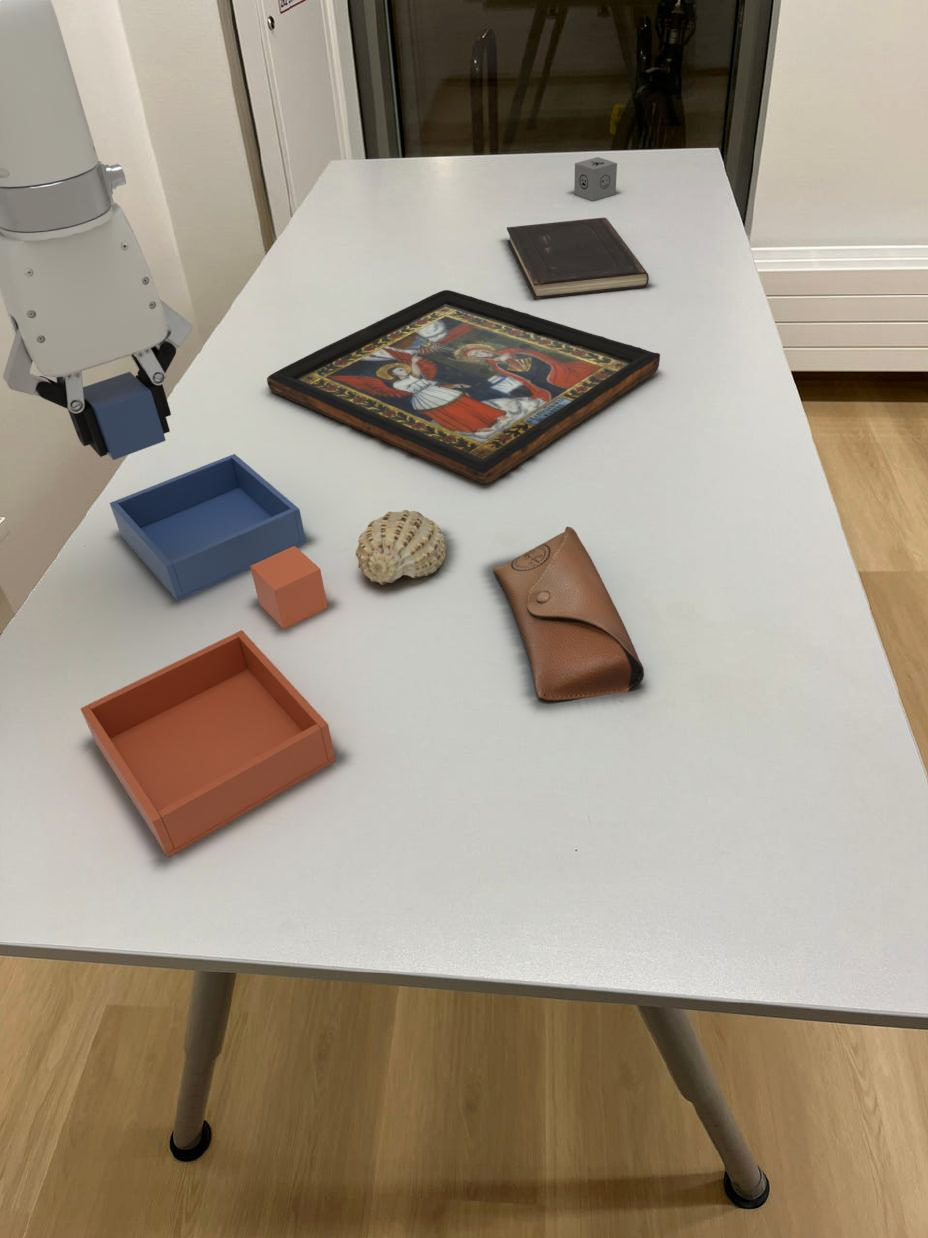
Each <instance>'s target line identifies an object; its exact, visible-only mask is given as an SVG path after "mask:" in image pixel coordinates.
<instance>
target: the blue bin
mask: <svg viewBox="0 0 928 1238" xmlns="http://www.w3.org/2000/svg"><path fill="white" fill-rule="evenodd" d="M109 506H110V508H111V511H112V514H113V517H114V520H115V522H116V524H117V528H118V531H119V533H120V536H121V538H122V539H123V540H124V541H125V542H126V544H127V545H128V546H129V547H130V548H131V549H132V550H133V551H134V553H135V554H136V555H137V557H138V558H140V560H141V561H142V562H143V563H144V564H145V566H146V567H147V568H148V569H149V570H150V572H152V574H153V575H154V576H155V577H156V578H157V580H158V581H159V582H160V583H161V584H162V585H163V586H164V587H165V588H166V590H167V591H168V592H169V593H170V595H171V596H172V597H173V598H174V599H175V601H177V602H180V601H182V600H184V599H187V598H189V597H191V596H193V595H196V594H198V593H201V592H202V591H204V590H206V589H208V588H211V587H213V586H215V585H217V584H219V583H222V582H224V581H226V580H228V579H231V578H233V577H235V576H237V575H239V574H241V573H244V572H246V571H248V570H251V568H250V566H251V565H253V564H255V563H258V562H260V561H262V560H264V559H266V558H269V557H271V556H273V555H275V554H277V553H280V552H282V551H284V550H286V549H288V548H291V547H293V546H296V547H297V548H298V547H301V546H303V545H305V544H307V540H306V534H305V530H304V525H303V519H302V515H301V511H300V510H301V509H300V508H299V507H298V506H297V505H295V504H294V503H293V502H292V501H291V500H289V499H288V498H287V497H286V496H285V495H284V494H282V493H281V492H280V490H278V489H277V488H276V487H274V486H273V485H272V484H271V483H269V481H267V480H266V479H265V478H264V477H262V475H260V474H259V473H258V472H256V471H255V469H253V468H252V467H251V466H250V465H249V464H247V463H246V462H245V461H244V460H243V459H241V457H239V456H238V455H237V454H235V453H233V454H230V455H228V456H224V457H223V458H220V459H218V460H215V461H213V462H210V463H208V464H205V465H203V466H200V467H197V468H195V469H192V470H189V471H187V472H184V473H182V474H179V475H177V476H174V477H172V478H169V479H167V480H164V481H162V482H159V483H157V484H155V485H152V486H149V487H146V488H144V489H142V490H139V491H136V492H134V493H131V494H129V495H126V496H123V497H121V498H118V499H116V500H114V501H111V502H109Z"/></svg>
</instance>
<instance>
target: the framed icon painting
mask: <svg viewBox="0 0 928 1238" xmlns="http://www.w3.org/2000/svg"><path fill="white" fill-rule="evenodd" d="M660 360H661V353H658V352H653V351H650V350H648V349H644V348H641V347H638V346H633V345H632V344H627V343H624V342H621V341H618V340H617V341H616V340H613V339H610V338H607V337H604V336H601V335H597V334H594V333H590V332H587V331H584V330H580V329H577V328H574V327H572V326H568V325H565V324H561V323H558V322H555V321H552V320H549V319H545V318H543V317H542V318H541V317H538V316H535V315H533V314H530V313H527V312H523V311H520V310H516V309H514V308H510V307H507V306H503V305H500V304H496V303H494V302H490V301H486V300H483V299H480V298H477V297H473V296H470V295H467V294H463V293H461V292H457V291H454V290H449V289H444V290H441V291H438V292H436V293H433V294H431V295H429V296H427V297H425V298H423V299H421V300H419V301H417V302H415V303H413V304H411V305H409V306H407V307H404V308H402V309H401V310H398V311H397V312H394V313H393V314H390V315H388V316H386V317H384V318H382V319H380V320H378V321H375V322H374V323H372V324H370V325H368V326H366V327H364V328H362V329H359V330H357V331H355V332H353V333H351V334H349V335H347V336H344V337H342V338H340V339H339V340H337V341H334V342H332V343H330V344H328V345H326V346H324V347H322V348H319V349H318V350H315V351H313V352H312V353H310V354H308V355H305V356H303V357H302V358H299V359H298V360H296V361H294V362H292V363H290V364H288V365H286V366H284V367H282V368H280V369H279V370H277V371H275V372H273V373H271V374H269V375H268V376H267V378H266V383H267V386H268V389H269V390H270V391H271V392H273V394H277V395H279V396H280V397H283V398H285V399H288V400H290V401H292V402H294V403H297V404H299V405H301V406H304V407H305V408H308V409H310V410H313V411H314V412H317V413H320V414H322V415H324V416H327V417H328V418H331V419H333V420H335V421H338V422H340V423H343V424H345V425H348V426H349V427H352V428H354V429H356V430H358V431H361V432H363V433H366V434H368V435H371V436H372V437H374V438H377V439H379V440H381V441H384V442H386V443H388V444H391V445H392V446H395V447H397V448H401V449H403V450H405V451H407V452H409V453H411V454H414V455H416V456H418V457H420V458H422V459H425V460H427V461H430V462H433V463H435V464H437V465H439V466H441V467H443V468H446V469H448V470H450V471H453V472H454V473H457V474H459V475H462V476H464V477H465V478H468V479H470V480H473V481H475V482H478V483H480V484H484V485H485V484H489V483H491V482H493V481H495V480H496V479H498V478H500V477H502V476H503V475H504V474H506V473H508V472H509V471H511V470H513V468H515V467H517V466H518V465H520V464H521V463H523V462H524V461H527V459H529V458H530V457H532V456H533V455H535V454H537V452H540V451H541V450H543V449H544V448H546V447H547V446H548V445H550V444H551V443H552V442H554V441H555V440H557V439H559V438H560V437H561V436H563V435H564V434H565V433H567V432H569V431H570V430H571V429H573V428H574V427H577V426H578V425H579V424H581V423H582V422H584V421H585V420H587V419H588V418H590V417H591V416H593V415H594V414H595V413H597V412H599V411H600V410H602V409H603V408H605V407H606V406H608V405H609V404H610V403H612V402H613V401H615V400H616V399H617V398H618V397H621V396H622V395H624V394H625V393H626V392H628V391H629V390H631V389H633V388H634V387H635V386H637V385H639V384H640V383H642V382H643V381H645V380H646V379H648V378H649V377H651V376H652V375H654V374H655V373H656V372H657V371H658V370H659V367H660V362H661V361H660Z"/></svg>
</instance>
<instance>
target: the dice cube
mask: <svg viewBox="0 0 928 1238" xmlns="http://www.w3.org/2000/svg"><path fill="white" fill-rule="evenodd" d="M617 172H618V163H617V162H614V161H612V160H608V159H606V158H602V157H599V156H597V157H593V158H589V159H585V160H581V161H578V162H575V163H574V189H573V190H574V192H573V194H574V195H575V196H578V197H580V198H583V199H587V200H589V201H591V202H594V201H598V200H601V199H605V198H608V197H611V196H615V195H617V174H618V173H617Z"/></svg>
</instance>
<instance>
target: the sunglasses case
mask: <svg viewBox="0 0 928 1238" xmlns="http://www.w3.org/2000/svg"><path fill="white" fill-rule="evenodd" d="M492 571H493V573H494V575H495V577H496V579H497V580H498V582H499V584H500V585H501V587H502V589H503V590H504V593H505V596H506V597H507V599H508V602H509V604H510V607H511V610H512V612H513V616H514V617H515V618H514V619H515V621H516V624H517V627H518V630H519V632H520V635H521V638H522V641H523V644H524V647H525V649H526V654H527V656H528V659H529V662H530V667H531V671H532V677H533V681H534V687H535V694H536V696H537V698H538V699H541V700H543V701H547V702H550V703H551V702H567V701H572V702H573V701H578V700H582V699H588V698H589V699H590V698H596V697H602V696H607V695H614V694H622V693H623V694H624V693H629V692H632V691H634V690H635V689H637V687H638V686H639V685H640V684H641V683H642V681H643V680H644V677H645V669H644V666H643V663H642V662H641V660H640V658H639V656H638V653H637V651H636V648H635V645H634V644H633V641H632V639H631V637H630V634H629V633H628V630H627V628H626V626H625V624H624V622H623V620H622V617H621V616H620V613H619V611H618V609H617V607H616V605H615V604H614V600H613V599H612V597H611V595H610V593H609V592H608V589H607V587H606V585H605V583H604V581H603V579H602V577H601V575H600V573H599V571H598V568H597V567H596V565H595V563H594V561H593V559H592V558H591V556H590V554H589V552H588V551H587V549H586V547H585V545H584V544H583V542H582V540H581V539H580V537H579V536H578V533H577V532H576V530H575V529H574V528H573V527H571V526H566V527H565V529H564V531H563V532H561V533H558V534H557V535H555V536H554V537H552V538H550V539H548V540H546V541H545V542H543V543H541V544H539V545H538V546H535V547H534V548H531V549H530V550H528V551H527V552H524V553H523V554H521V555H519V556H517V557H515V558H513V559H512V560H510V561H508V562H506V563H505V564H504V565H498V566H497V565H496V566H494V567H493V569H492Z"/></svg>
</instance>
